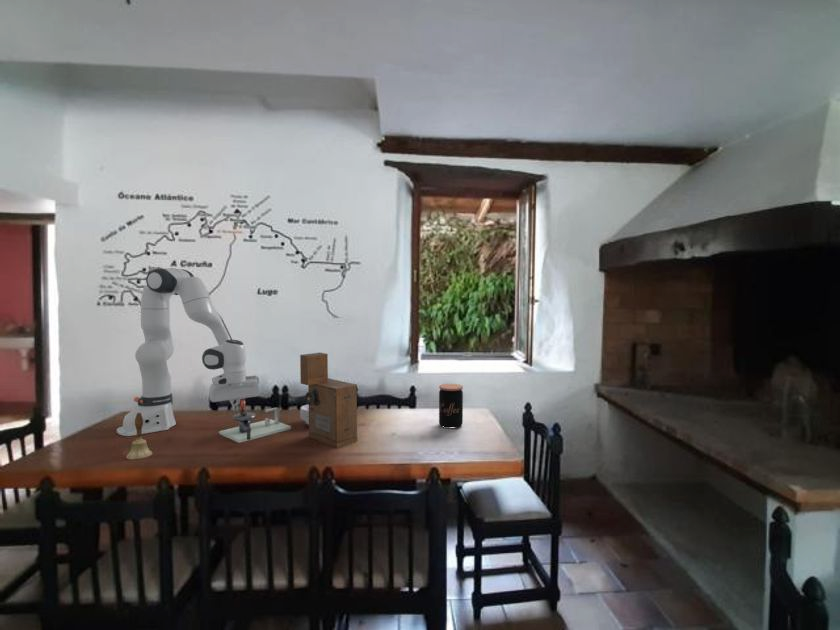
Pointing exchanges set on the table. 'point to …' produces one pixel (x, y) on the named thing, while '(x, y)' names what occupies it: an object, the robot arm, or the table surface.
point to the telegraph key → (244, 419)
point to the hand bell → (139, 442)
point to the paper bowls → (305, 413)
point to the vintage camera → (328, 402)
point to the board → (254, 430)
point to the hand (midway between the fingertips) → (235, 409)
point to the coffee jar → (450, 405)
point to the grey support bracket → (277, 416)
